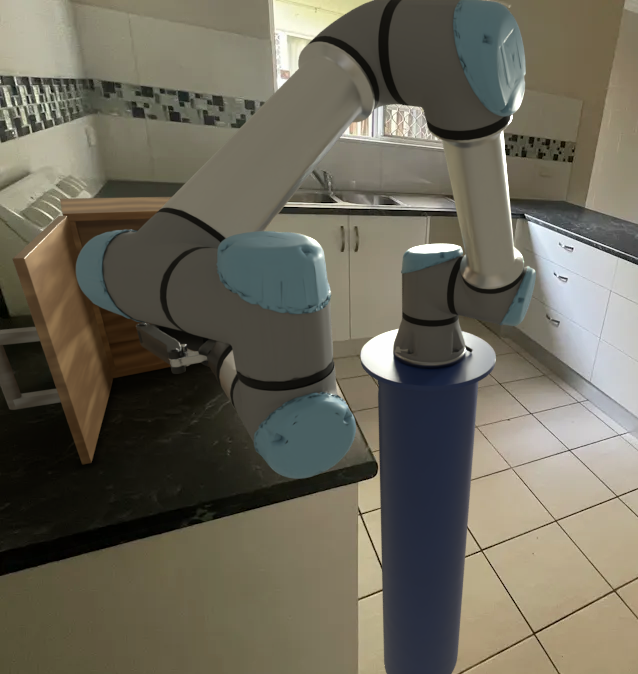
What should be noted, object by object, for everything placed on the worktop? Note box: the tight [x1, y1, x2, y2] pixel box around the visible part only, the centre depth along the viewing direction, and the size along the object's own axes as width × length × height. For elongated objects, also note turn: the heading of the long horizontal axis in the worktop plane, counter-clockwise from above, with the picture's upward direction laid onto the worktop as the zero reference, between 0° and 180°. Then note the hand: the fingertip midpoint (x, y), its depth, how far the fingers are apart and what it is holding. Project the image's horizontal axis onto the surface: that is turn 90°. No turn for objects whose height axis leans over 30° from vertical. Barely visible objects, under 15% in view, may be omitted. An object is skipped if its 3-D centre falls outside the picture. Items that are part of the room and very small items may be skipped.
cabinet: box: [59, 196, 193, 379], centre depth 89 cm, size 14×24×28 cm, turn 131°
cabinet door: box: [0, 215, 114, 466], centre depth 65 cm, size 6×24×28 cm, turn 31°
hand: (208, 301), depth 63 cm, fingers open, 10 cm apart
